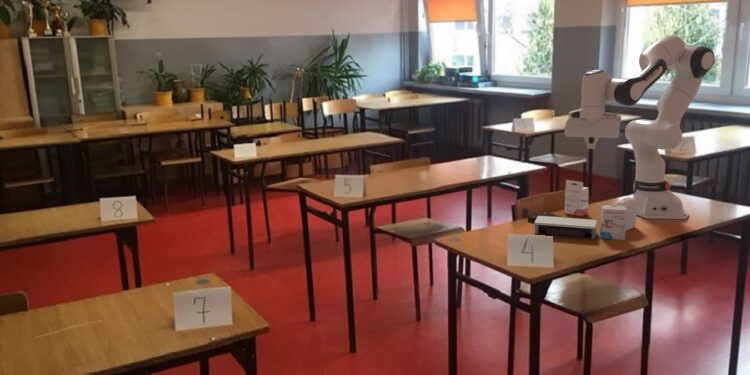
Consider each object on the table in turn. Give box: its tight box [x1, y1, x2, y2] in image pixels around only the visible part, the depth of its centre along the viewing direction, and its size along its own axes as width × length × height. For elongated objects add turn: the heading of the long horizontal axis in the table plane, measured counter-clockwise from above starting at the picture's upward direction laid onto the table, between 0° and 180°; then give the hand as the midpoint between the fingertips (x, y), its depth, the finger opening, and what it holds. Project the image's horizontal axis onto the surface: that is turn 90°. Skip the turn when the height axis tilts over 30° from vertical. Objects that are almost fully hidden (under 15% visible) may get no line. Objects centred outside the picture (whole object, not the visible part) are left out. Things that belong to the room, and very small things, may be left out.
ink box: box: [599, 204, 627, 241], centre depth 237 cm, size 9×5×12 cm, turn 75°
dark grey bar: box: [544, 226, 587, 238], centre depth 243 cm, size 15×3×3 cm
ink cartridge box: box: [564, 179, 589, 217], centre depth 269 cm, size 9×5×15 cm, turn 42°
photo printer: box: [615, 197, 637, 232], centre depth 246 cm, size 10×4×12 cm, turn 129°
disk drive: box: [527, 211, 567, 223], centre depth 259 cm, size 10×3×15 cm
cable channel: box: [534, 223, 598, 240], centre depth 244 cm, size 22×8×4 cm, turn 67°
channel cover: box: [533, 216, 598, 229], centre depth 242 cm, size 22×10×1 cm, turn 67°
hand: (591, 148), depth 247 cm, fingers closed
